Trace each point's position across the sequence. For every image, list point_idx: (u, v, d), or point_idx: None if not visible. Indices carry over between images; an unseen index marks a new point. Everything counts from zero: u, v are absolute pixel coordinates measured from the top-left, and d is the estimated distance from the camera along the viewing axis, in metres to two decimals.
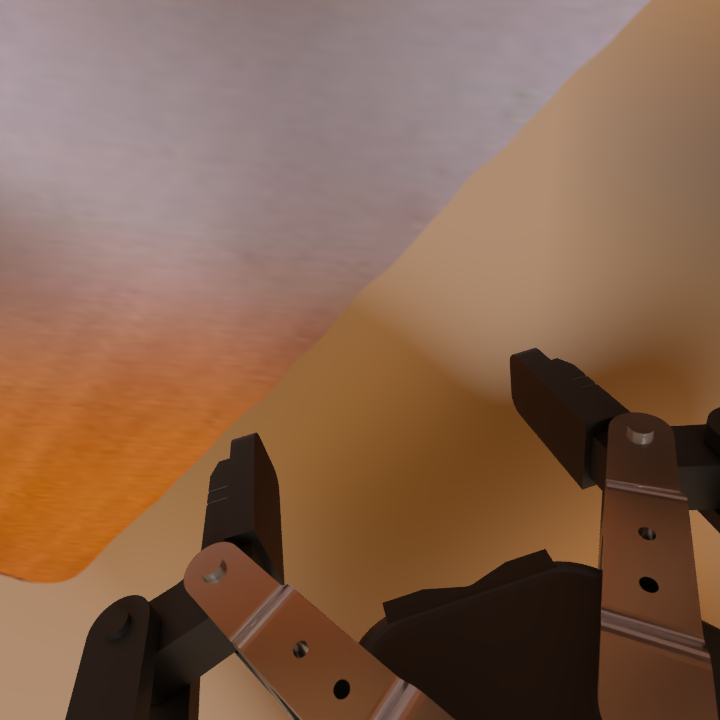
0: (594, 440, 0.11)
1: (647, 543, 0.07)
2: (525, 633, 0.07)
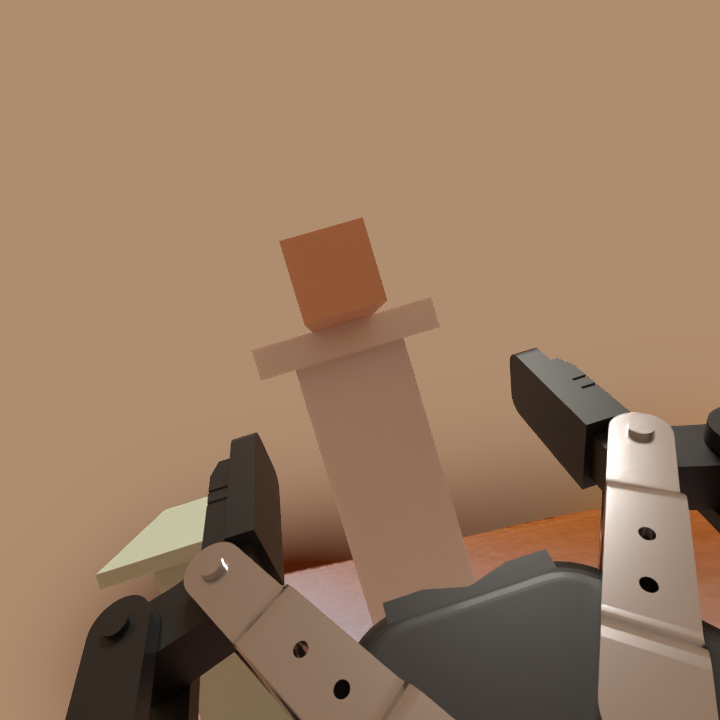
0: (594, 440, 0.11)
1: (647, 543, 0.07)
2: (525, 633, 0.07)
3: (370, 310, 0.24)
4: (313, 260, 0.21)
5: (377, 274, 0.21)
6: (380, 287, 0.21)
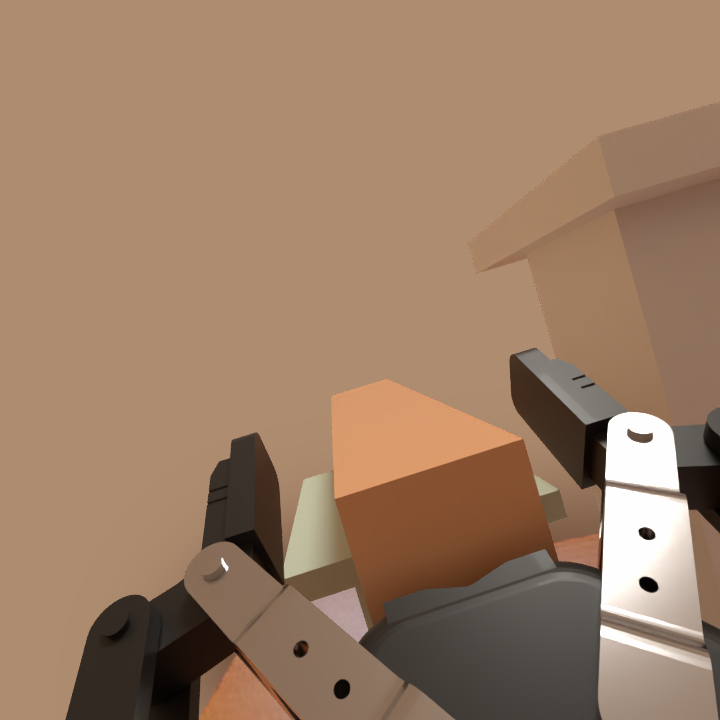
0: (593, 440, 0.11)
1: (646, 543, 0.07)
2: (525, 633, 0.07)
3: None
4: (411, 538, 0.09)
5: None
6: None
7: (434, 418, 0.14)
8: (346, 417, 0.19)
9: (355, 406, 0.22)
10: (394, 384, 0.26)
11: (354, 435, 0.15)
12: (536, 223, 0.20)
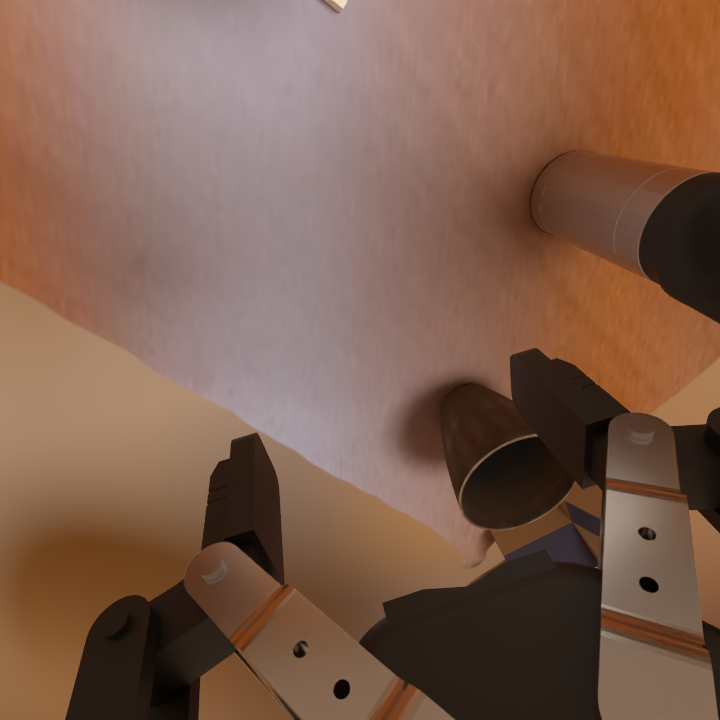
0: (593, 440, 0.11)
1: (646, 543, 0.07)
2: (525, 633, 0.07)
3: None
4: None
5: None
6: None
7: None
8: None
9: None
10: None
11: None
12: None
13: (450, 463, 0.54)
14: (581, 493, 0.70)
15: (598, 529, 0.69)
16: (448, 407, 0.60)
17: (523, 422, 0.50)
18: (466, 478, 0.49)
